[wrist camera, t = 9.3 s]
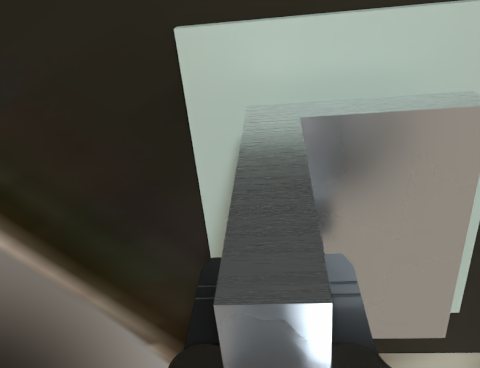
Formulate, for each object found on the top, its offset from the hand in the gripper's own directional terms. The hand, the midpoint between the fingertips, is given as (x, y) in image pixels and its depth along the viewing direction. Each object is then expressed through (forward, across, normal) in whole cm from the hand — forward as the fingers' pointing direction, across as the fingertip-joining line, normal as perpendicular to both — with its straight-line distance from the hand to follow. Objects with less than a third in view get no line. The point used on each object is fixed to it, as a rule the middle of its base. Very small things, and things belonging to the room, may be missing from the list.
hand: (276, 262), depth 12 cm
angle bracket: (+2, -2, 0) cm, 3 cm away
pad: (+4, -2, 0) cm, 5 cm away
